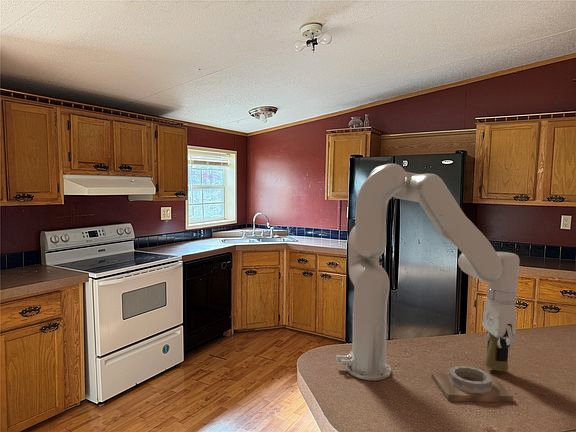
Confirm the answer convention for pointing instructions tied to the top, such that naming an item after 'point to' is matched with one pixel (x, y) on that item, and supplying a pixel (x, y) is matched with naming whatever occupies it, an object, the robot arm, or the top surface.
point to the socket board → (469, 396)
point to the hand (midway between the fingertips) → (497, 356)
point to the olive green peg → (491, 354)
